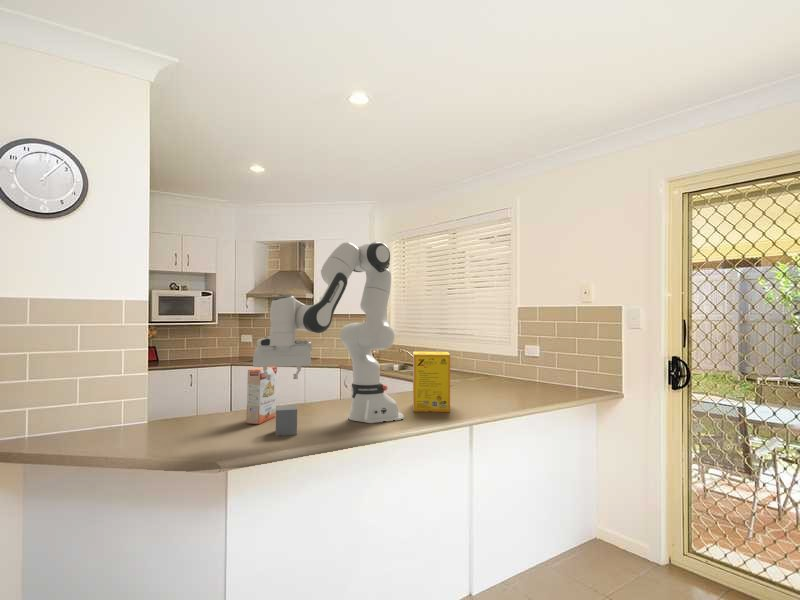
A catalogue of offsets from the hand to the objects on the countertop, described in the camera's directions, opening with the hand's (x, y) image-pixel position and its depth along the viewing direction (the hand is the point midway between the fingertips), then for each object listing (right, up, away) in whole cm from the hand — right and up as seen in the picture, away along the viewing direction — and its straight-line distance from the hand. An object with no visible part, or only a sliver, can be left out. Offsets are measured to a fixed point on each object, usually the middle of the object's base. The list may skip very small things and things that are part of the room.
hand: (282, 379), depth 168 cm
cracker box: (-13, -20, +19) cm, 30 cm away
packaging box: (+56, -21, +46) cm, 76 cm away
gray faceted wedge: (+1, -19, 0) cm, 19 cm away
